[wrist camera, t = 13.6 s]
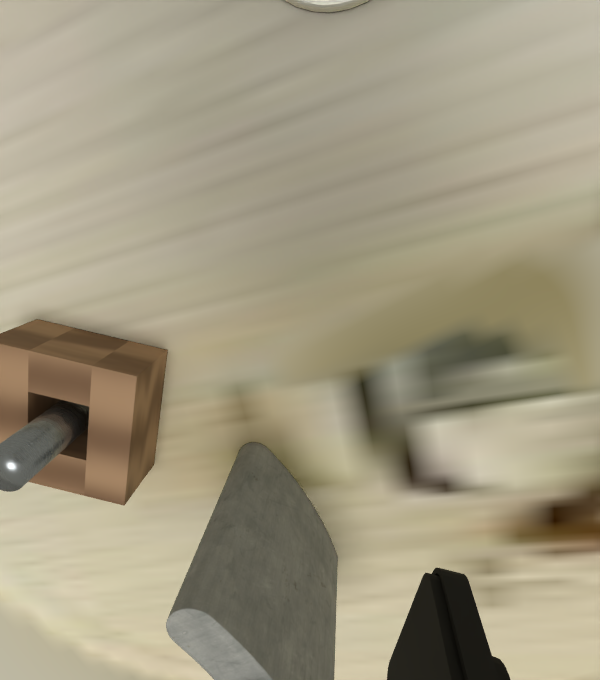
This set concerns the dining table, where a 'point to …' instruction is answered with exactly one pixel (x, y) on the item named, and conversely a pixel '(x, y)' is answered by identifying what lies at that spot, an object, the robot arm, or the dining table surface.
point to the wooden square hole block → (85, 403)
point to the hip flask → (260, 581)
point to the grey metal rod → (40, 443)
